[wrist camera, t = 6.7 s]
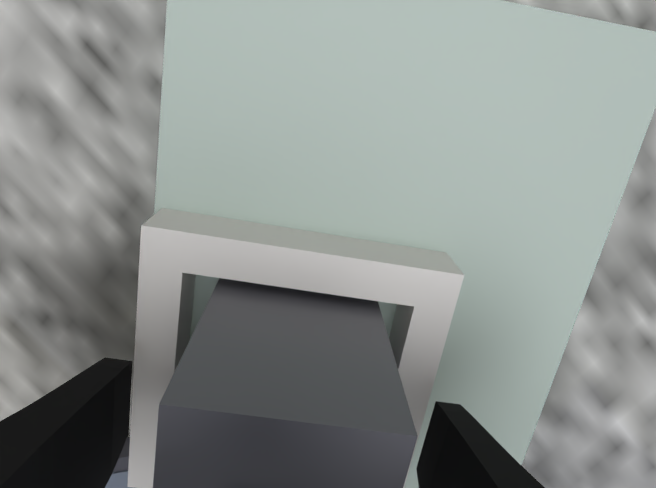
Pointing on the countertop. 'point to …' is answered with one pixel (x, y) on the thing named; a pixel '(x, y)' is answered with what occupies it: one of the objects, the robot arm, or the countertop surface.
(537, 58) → the outlet plate
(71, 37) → the countertop surface
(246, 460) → the charger block
